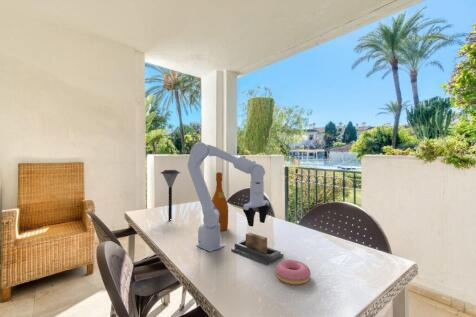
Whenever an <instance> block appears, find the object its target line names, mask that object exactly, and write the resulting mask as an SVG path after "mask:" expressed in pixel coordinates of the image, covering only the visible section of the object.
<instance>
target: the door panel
mask: <svg viewBox="0 0 476 317" xmlns="http://www.w3.org/2000/svg"><path fill="white" fill-rule="evenodd" d="M245 240H246V246H247V247H250V248H252V249H255V250H258V251H261V252H263V253H266V254H267V247H268V237H266V236H264V235H263V236H262V235H259V234H256V233H253V232H247V233H245Z"/></svg>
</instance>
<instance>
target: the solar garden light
mask: <svg viewBox="0 0 476 317" xmlns="http://www.w3.org/2000/svg"><path fill="white" fill-rule="evenodd" d="M160 174H162V175H163V178H164V180H165V182H166V184H167V186H168V221H171V220H170V219H172V218H173V214H172V213H173V211H172V210H173V185H174V184H175V181H176V179H177V177H178V175H179V174H181V172H180V171H178V170H176V169H165V170H163V171H161V172H160Z"/></svg>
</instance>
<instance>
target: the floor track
mask: <svg viewBox="0 0 476 317" xmlns="http://www.w3.org/2000/svg"><path fill="white" fill-rule="evenodd" d="M231 252H233V253H236V254H239V255H241V256H243V257H245V258H248V259H250V260H253V261H255V262H258V263H261V264H262V265H265V266H268V265H271V264H273V263H275V262H277V261H278V260H280V259H283V257H284V253H281V251H279V250H277V249H274V248H271V247H268V246H267V254H266V253H263V252H261V251H258V250H255V249H252V248H250V247H247V246H246V239H243V240H240V241H238V242H235V243H234V247H231Z"/></svg>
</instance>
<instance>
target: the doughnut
mask: <svg viewBox="0 0 476 317" xmlns="http://www.w3.org/2000/svg"><path fill="white" fill-rule="evenodd" d="M274 271H275V275H276V276H277V278H278V279H279V280H280V281H282V282H283V283H285V284H289V285H295V286H296V285H297V286H298V285H303V284H306V283H307V282H308V281H309V280H310V278H311V270H310V267H309V266H308V264H305V263H303V262H302V261H300V260H295V259H283V260H281V261H279V262H278V263H276V266H275V269H274Z"/></svg>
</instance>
